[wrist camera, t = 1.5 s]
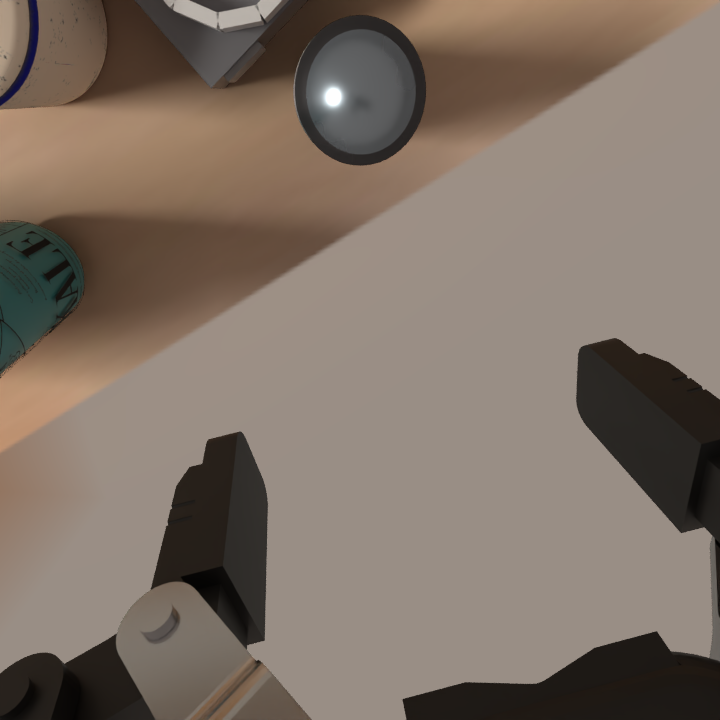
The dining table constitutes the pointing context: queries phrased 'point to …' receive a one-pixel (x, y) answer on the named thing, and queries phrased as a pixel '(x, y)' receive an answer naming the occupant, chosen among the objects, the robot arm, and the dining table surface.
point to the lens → (359, 90)
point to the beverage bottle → (34, 286)
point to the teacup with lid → (49, 50)
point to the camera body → (220, 32)
